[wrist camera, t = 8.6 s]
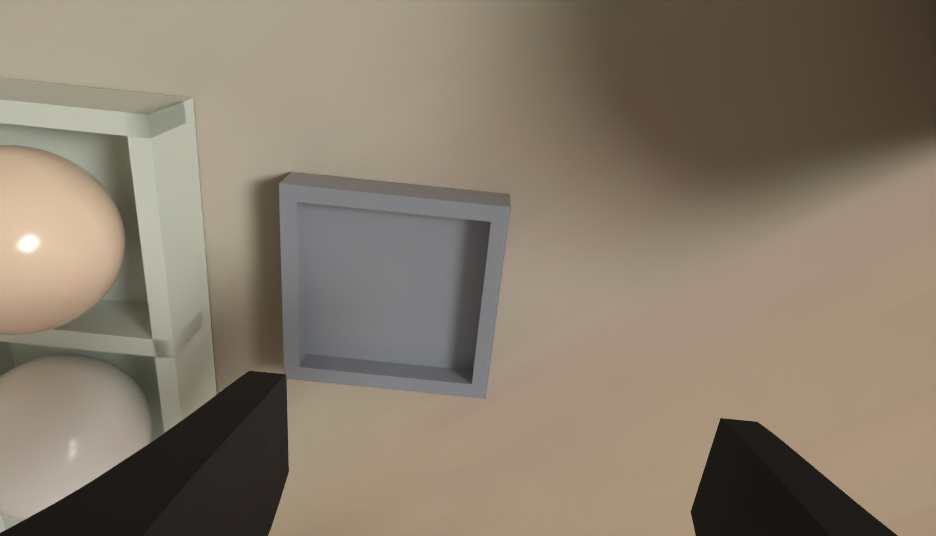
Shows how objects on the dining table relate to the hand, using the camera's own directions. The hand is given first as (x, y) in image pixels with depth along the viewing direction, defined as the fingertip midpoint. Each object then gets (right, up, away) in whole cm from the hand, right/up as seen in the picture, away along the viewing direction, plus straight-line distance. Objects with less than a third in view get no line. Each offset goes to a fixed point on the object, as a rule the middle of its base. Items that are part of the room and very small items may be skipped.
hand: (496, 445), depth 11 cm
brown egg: (-12, +5, +9) cm, 16 cm away
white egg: (-13, -1, +11) cm, 17 cm away
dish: (-3, +3, +10) cm, 11 cm away
